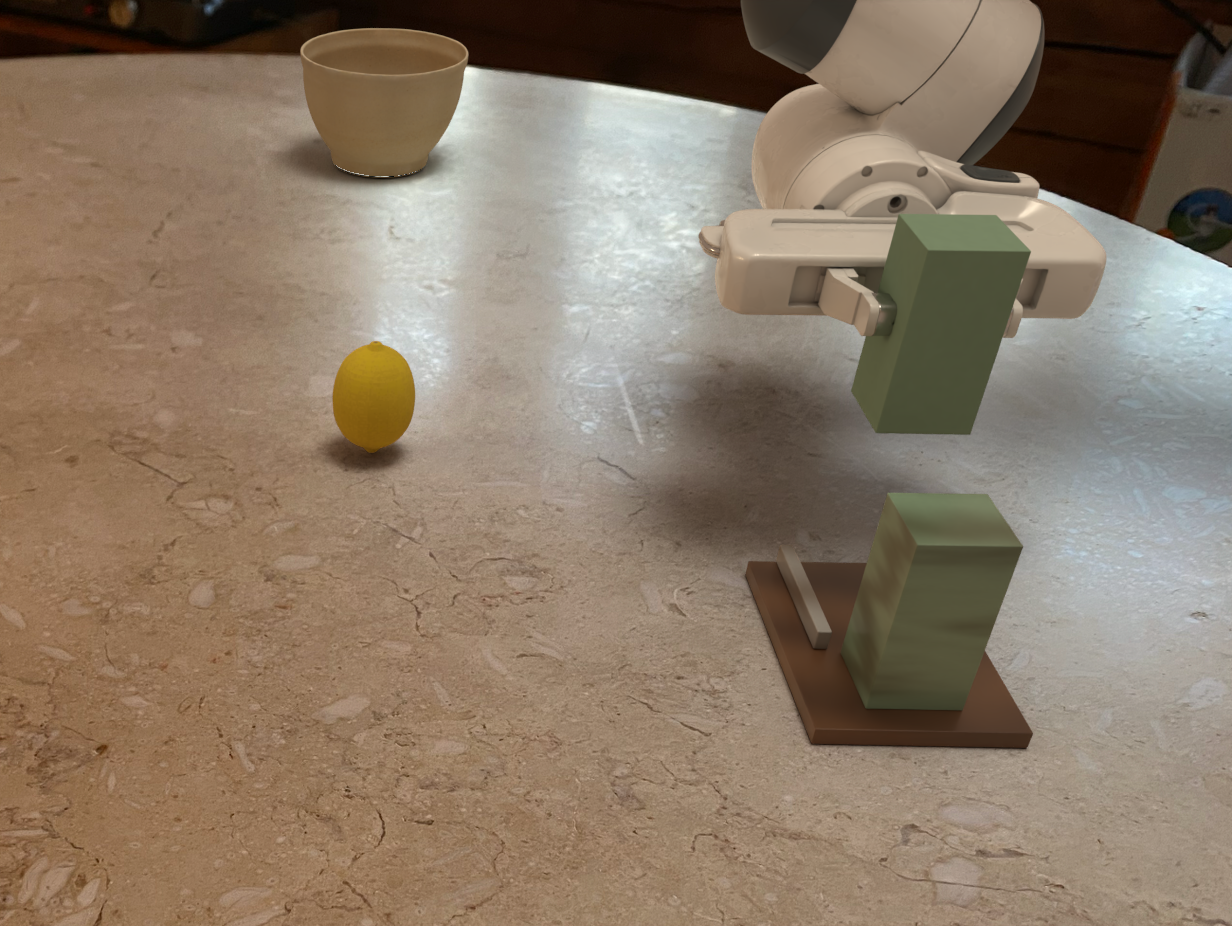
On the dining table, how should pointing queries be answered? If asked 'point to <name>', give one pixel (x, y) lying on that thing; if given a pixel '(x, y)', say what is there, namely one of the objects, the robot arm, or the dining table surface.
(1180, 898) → the dining table surface
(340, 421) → the lemon
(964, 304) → the back pad
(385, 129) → the planter bowl
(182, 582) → the dining table surface
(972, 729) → the mount board
